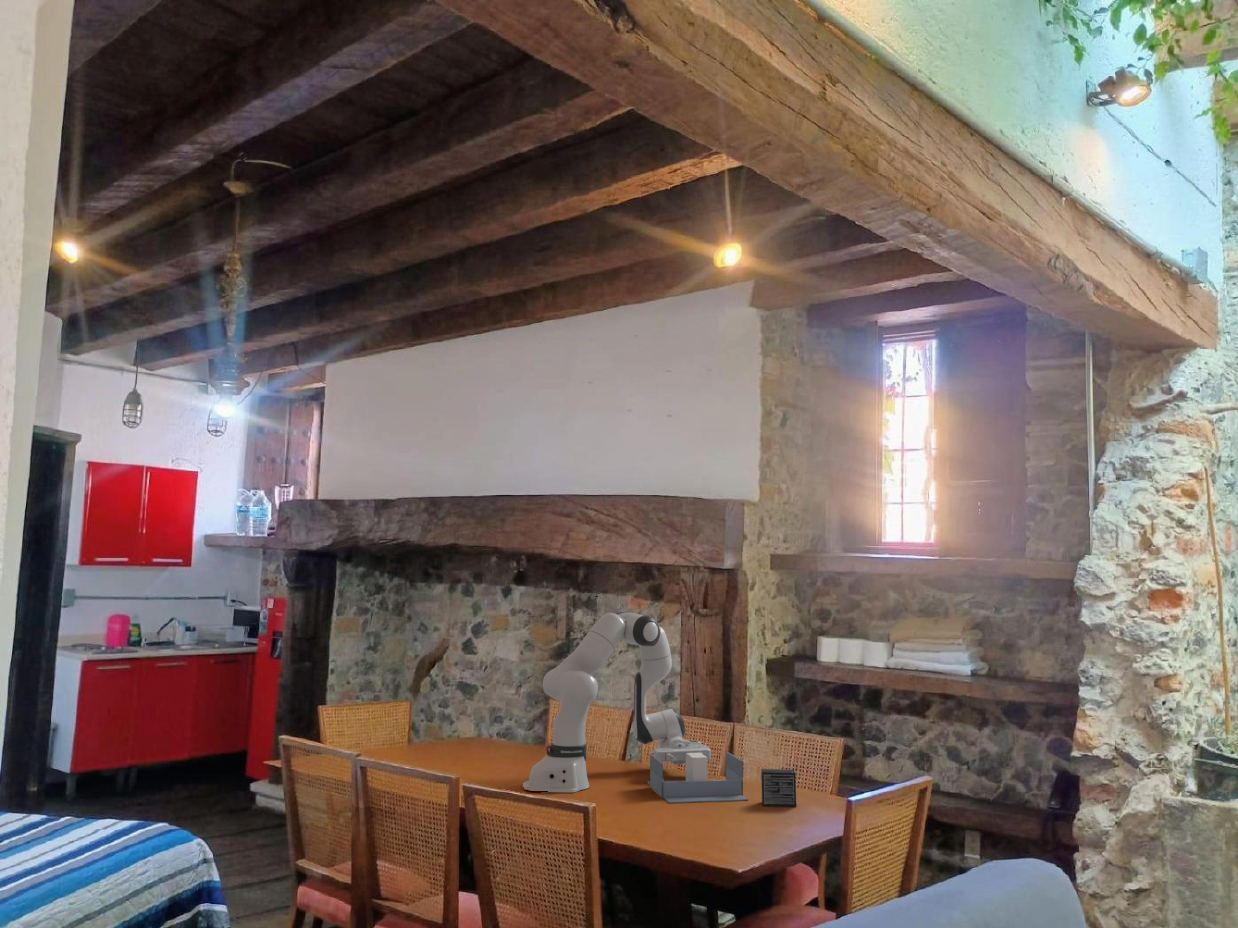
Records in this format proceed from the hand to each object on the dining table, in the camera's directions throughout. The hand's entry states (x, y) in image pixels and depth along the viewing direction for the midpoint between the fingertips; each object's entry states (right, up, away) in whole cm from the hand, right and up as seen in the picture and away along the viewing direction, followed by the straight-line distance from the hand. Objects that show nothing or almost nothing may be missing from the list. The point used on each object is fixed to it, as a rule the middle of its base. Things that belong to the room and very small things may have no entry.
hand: (687, 758), depth 333 cm
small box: (+27, -6, -30) cm, 41 cm away
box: (+2, -7, -14) cm, 16 cm away
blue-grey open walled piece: (+2, -7, -13) cm, 15 cm away
